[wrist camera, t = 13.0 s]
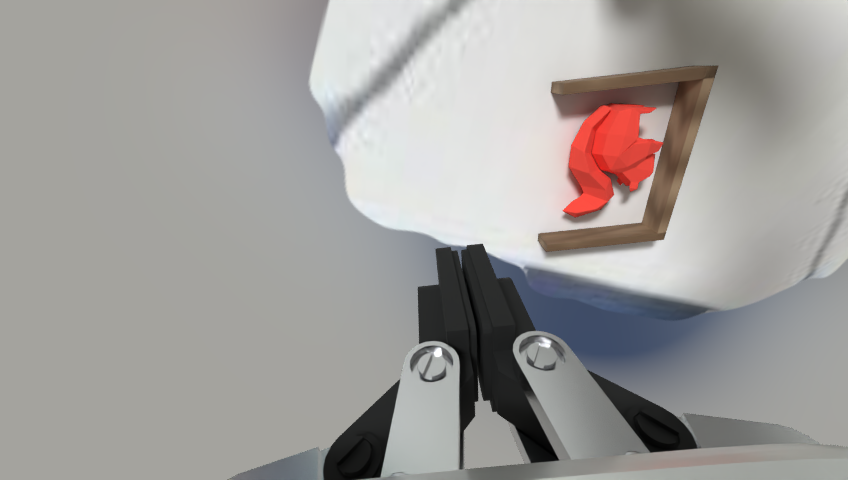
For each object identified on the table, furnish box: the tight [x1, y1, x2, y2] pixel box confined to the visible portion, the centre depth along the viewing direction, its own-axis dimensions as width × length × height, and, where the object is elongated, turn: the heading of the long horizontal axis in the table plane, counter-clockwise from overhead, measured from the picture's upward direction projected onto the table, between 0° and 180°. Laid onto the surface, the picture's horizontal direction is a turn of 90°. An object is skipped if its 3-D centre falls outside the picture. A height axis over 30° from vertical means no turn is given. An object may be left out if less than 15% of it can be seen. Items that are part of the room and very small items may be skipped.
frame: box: [538, 66, 718, 252], centre depth 42 cm, size 22×17×4 cm
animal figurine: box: [563, 103, 663, 217], centre depth 41 cm, size 12×15×5 cm
